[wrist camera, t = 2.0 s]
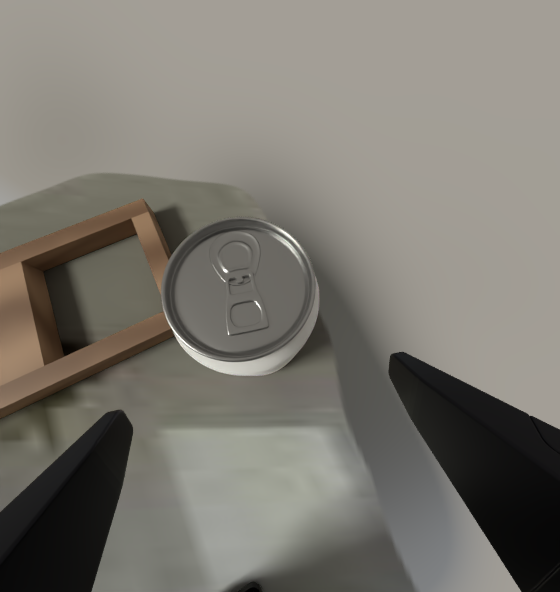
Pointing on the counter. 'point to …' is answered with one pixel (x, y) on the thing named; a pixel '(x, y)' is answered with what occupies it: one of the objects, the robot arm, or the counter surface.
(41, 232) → the counter surface
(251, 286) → the can
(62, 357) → the wooden tray frame
